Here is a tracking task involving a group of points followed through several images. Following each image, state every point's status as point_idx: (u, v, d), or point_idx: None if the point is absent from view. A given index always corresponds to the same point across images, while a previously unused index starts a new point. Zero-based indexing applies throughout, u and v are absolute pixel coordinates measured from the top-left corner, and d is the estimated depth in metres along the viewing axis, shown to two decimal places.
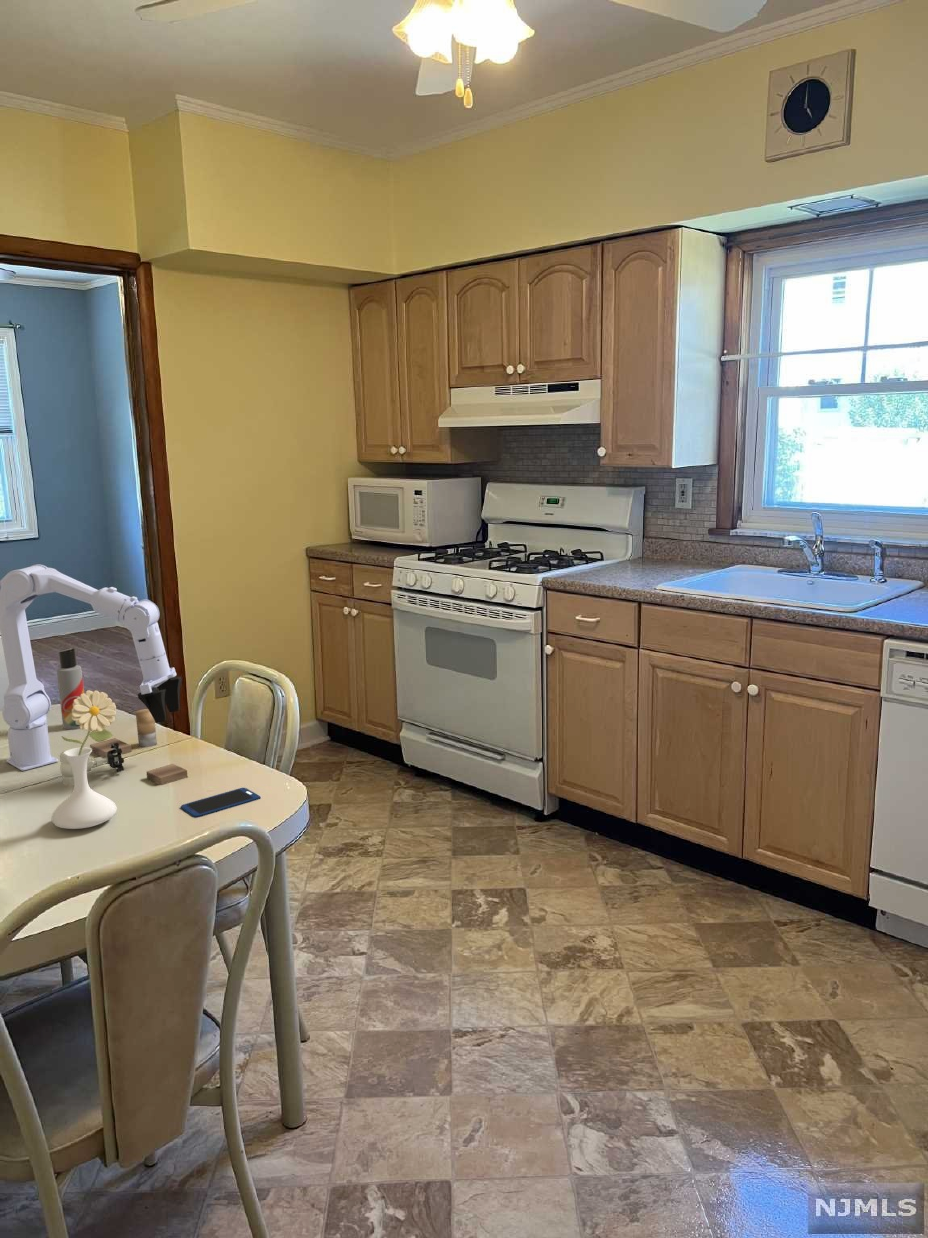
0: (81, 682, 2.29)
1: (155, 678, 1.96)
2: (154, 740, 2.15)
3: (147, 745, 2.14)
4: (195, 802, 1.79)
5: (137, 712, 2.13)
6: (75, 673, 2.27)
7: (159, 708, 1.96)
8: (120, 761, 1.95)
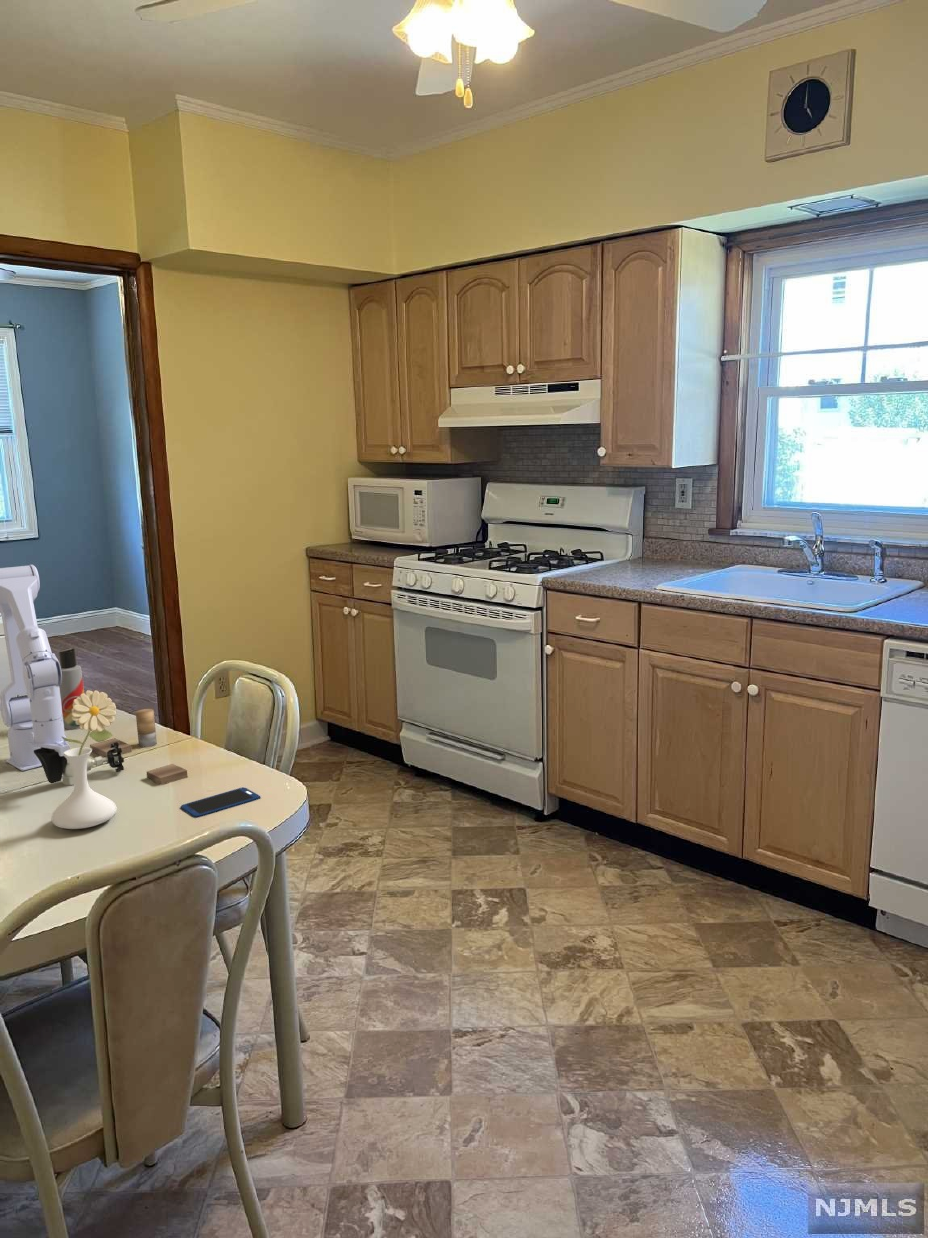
0: (81, 682, 2.29)
1: None
2: (154, 740, 2.15)
3: (147, 745, 2.14)
4: (195, 802, 1.79)
5: (137, 712, 2.13)
6: (75, 673, 2.27)
7: None
8: (120, 760, 1.95)
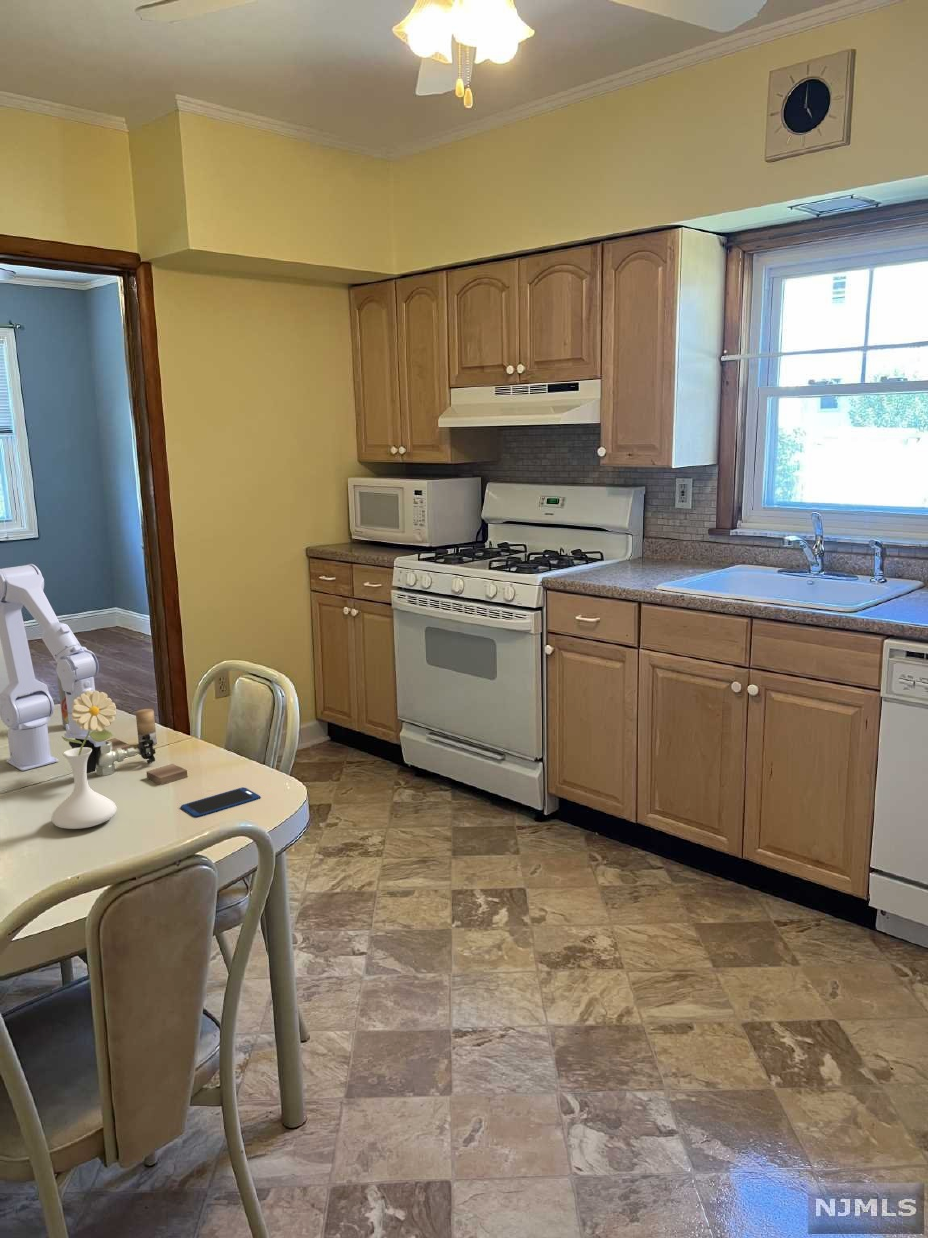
0: None
1: None
2: (154, 740, 2.15)
3: None
4: (195, 802, 1.79)
5: (137, 712, 2.13)
6: None
7: None
8: (152, 752, 1.99)
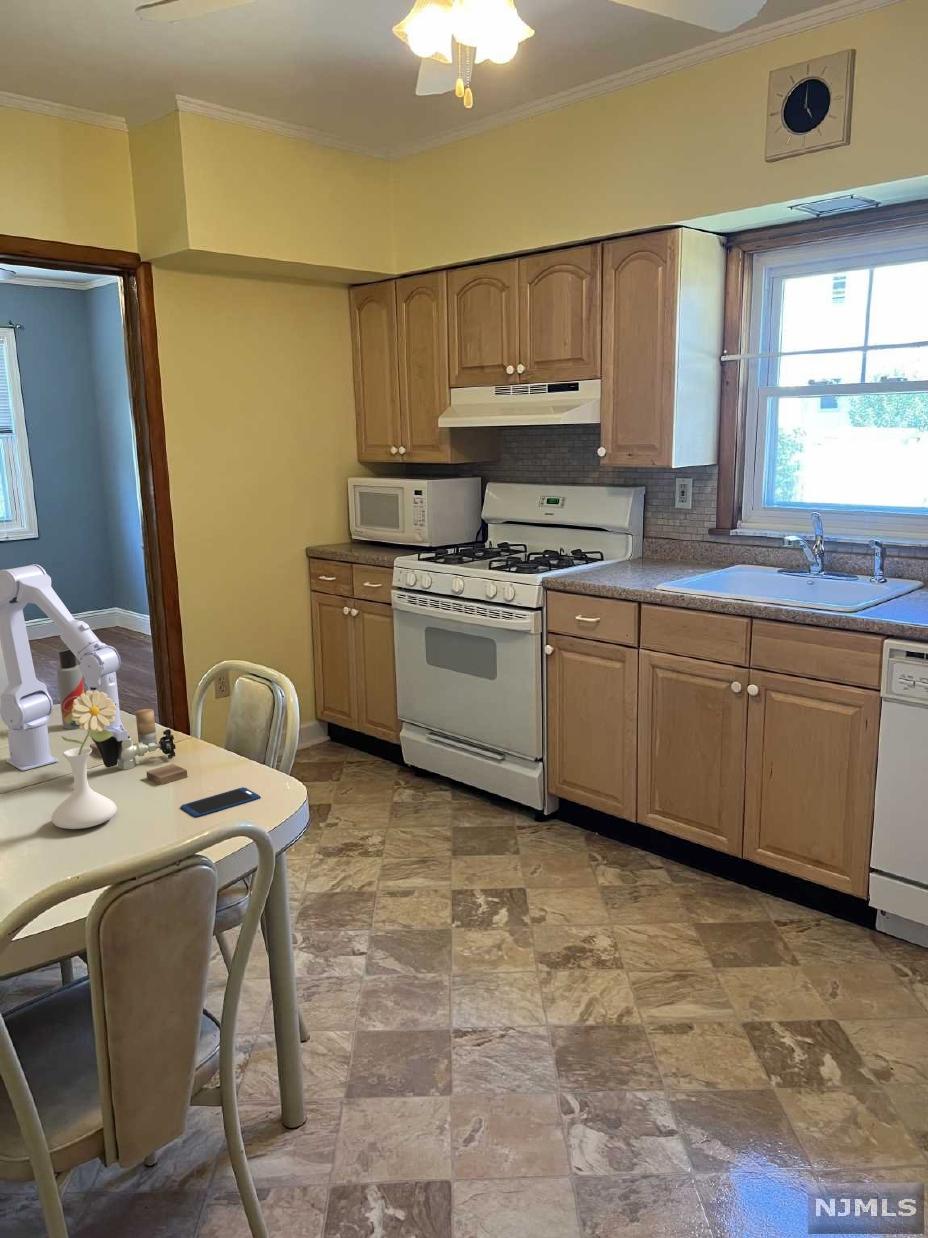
0: (81, 682, 2.29)
1: None
2: (154, 740, 2.15)
3: None
4: (195, 802, 1.79)
5: (137, 712, 2.13)
6: (75, 673, 2.27)
7: None
8: (172, 747, 2.02)
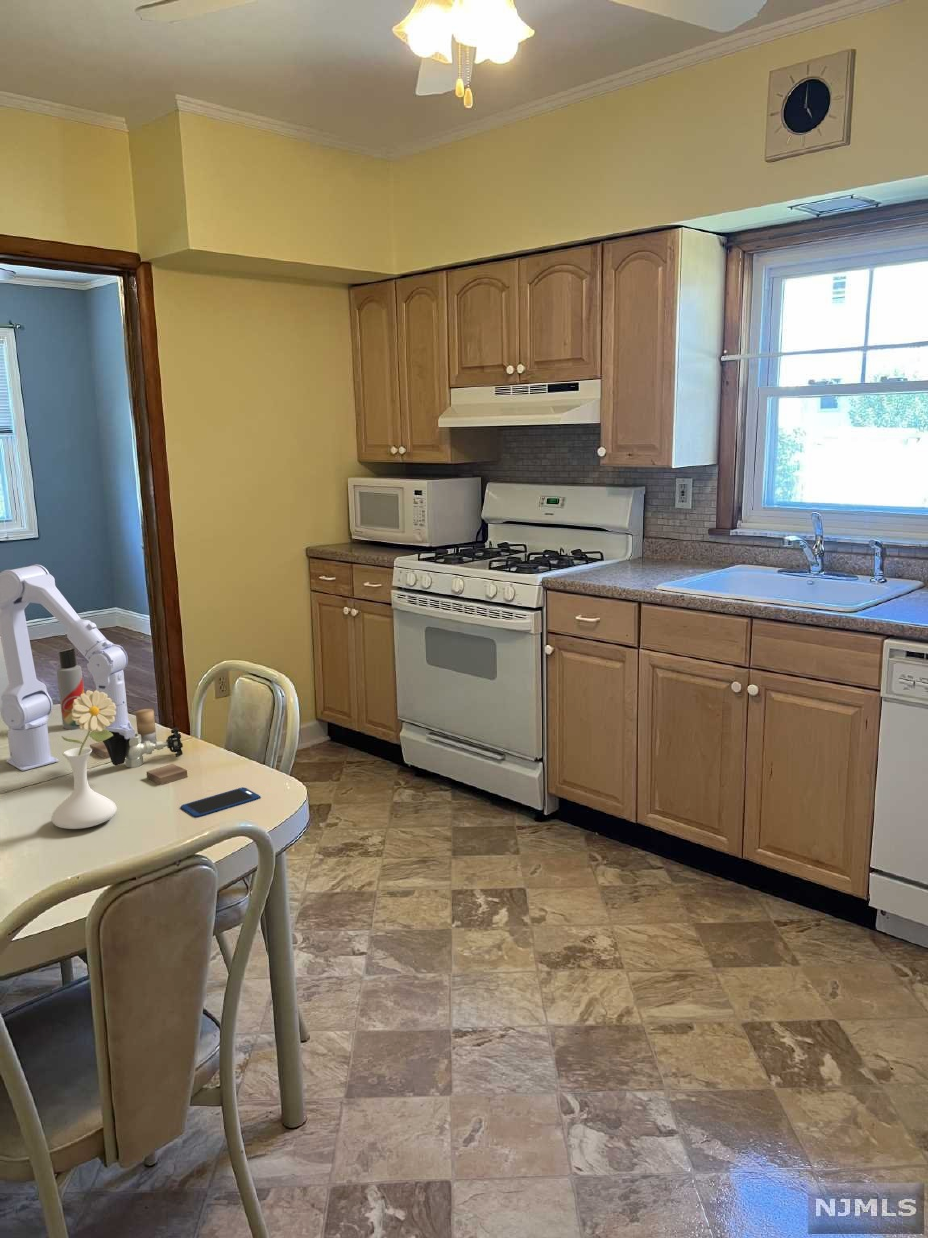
0: (81, 682, 2.29)
1: None
2: (154, 740, 2.15)
3: None
4: (195, 802, 1.79)
5: (137, 712, 2.13)
6: (75, 673, 2.27)
7: None
8: (179, 746, 2.03)
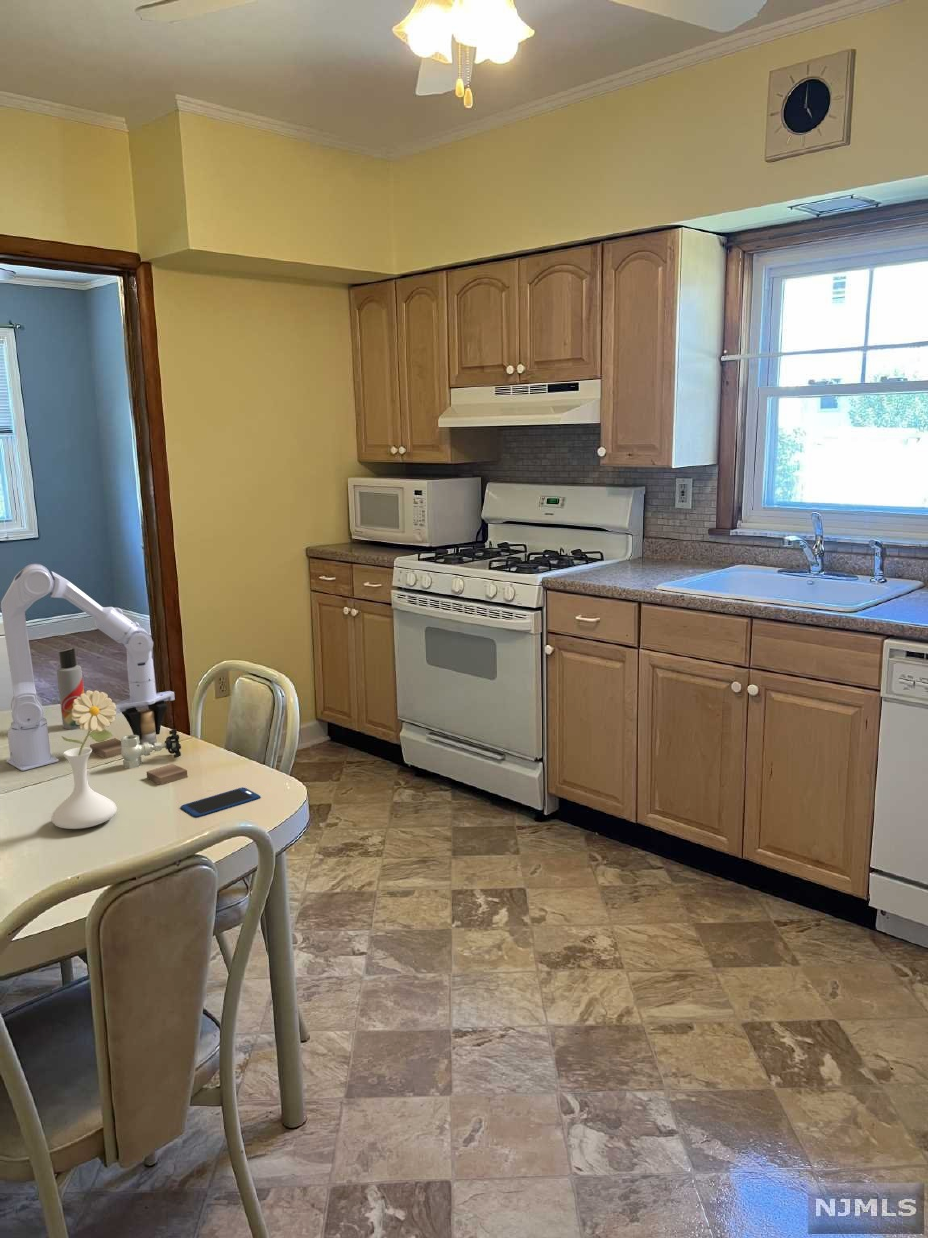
0: (81, 682, 2.29)
1: (133, 700, 2.11)
2: (154, 740, 2.15)
3: None
4: (195, 802, 1.79)
5: None
6: (75, 673, 2.27)
7: None
8: (177, 747, 2.03)
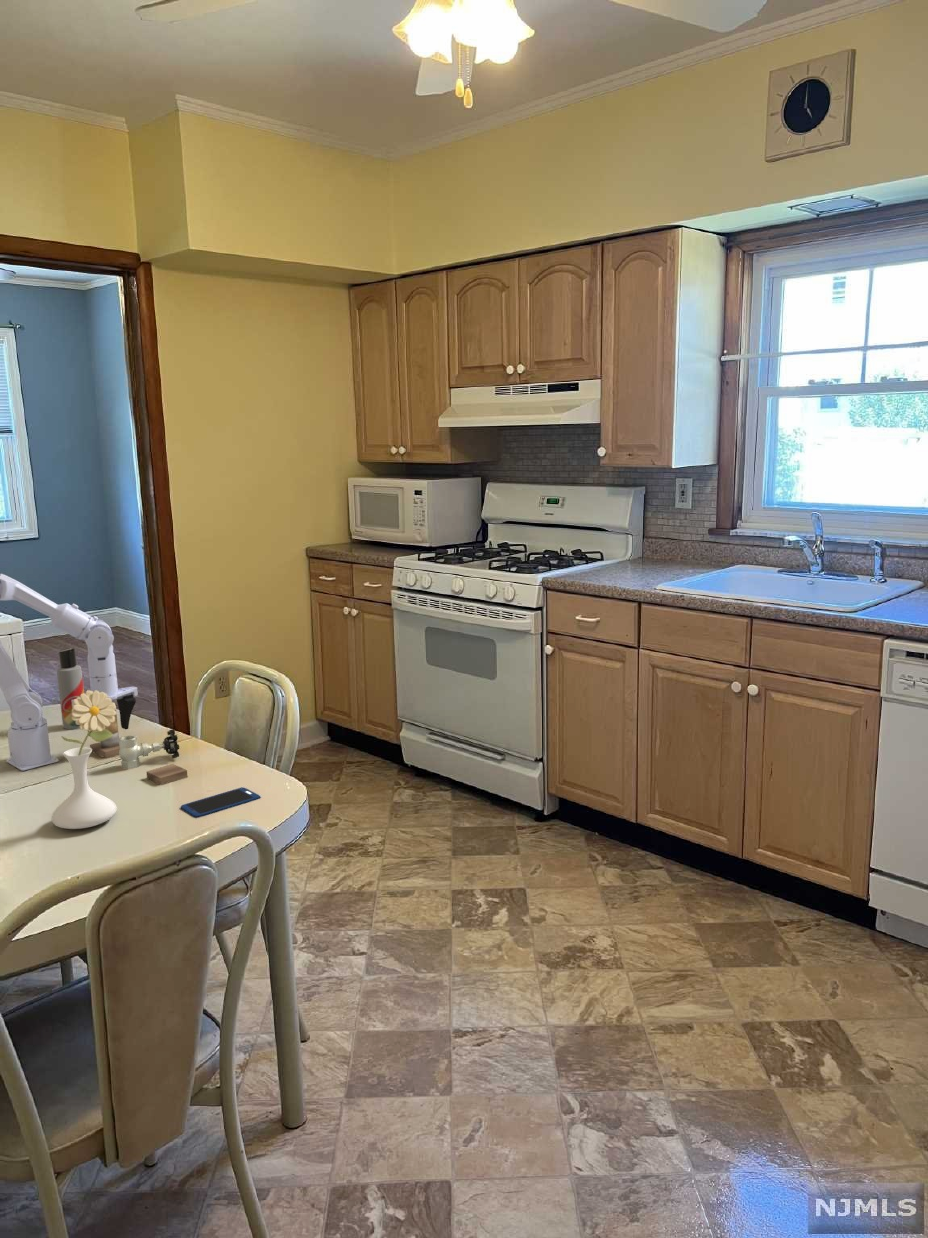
0: (81, 682, 2.29)
1: None
2: (116, 741, 2.10)
3: (109, 746, 2.09)
4: (195, 802, 1.78)
5: None
6: (75, 673, 2.27)
7: None
8: (175, 747, 2.02)
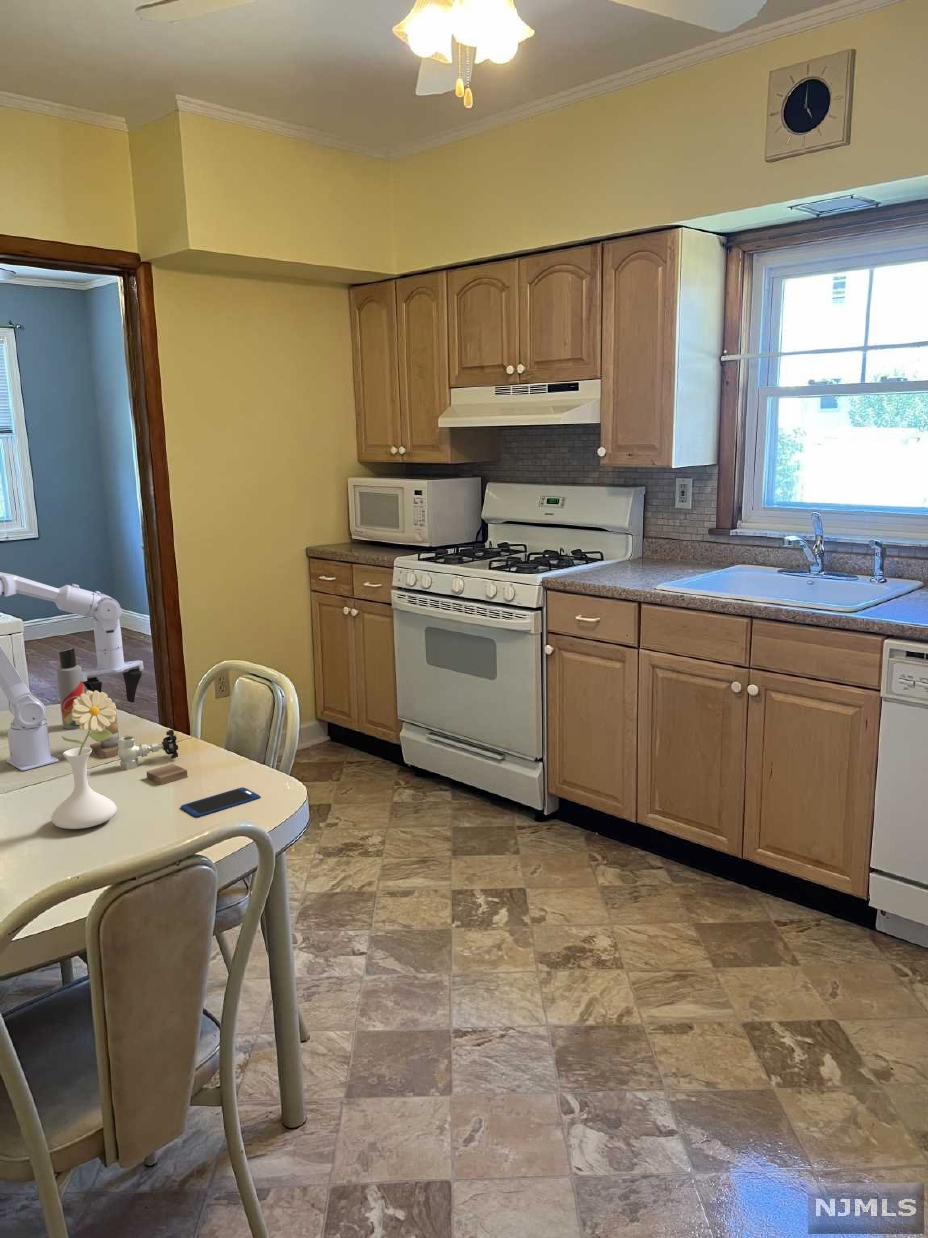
0: (81, 682, 2.29)
1: (100, 669, 2.09)
2: (117, 741, 2.10)
3: (109, 746, 2.09)
4: (195, 802, 1.78)
5: None
6: (75, 673, 2.27)
7: None
8: (174, 748, 2.02)
